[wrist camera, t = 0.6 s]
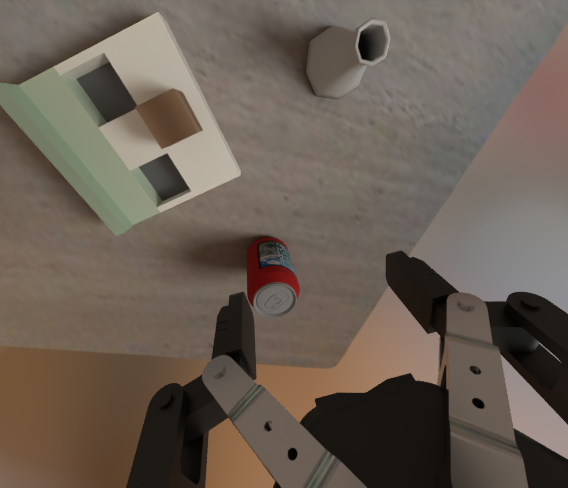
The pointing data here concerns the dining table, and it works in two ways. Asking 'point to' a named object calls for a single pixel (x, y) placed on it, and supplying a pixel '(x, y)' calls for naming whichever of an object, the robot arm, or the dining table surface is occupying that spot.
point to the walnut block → (169, 118)
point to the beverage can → (271, 278)
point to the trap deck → (121, 125)
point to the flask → (345, 57)
